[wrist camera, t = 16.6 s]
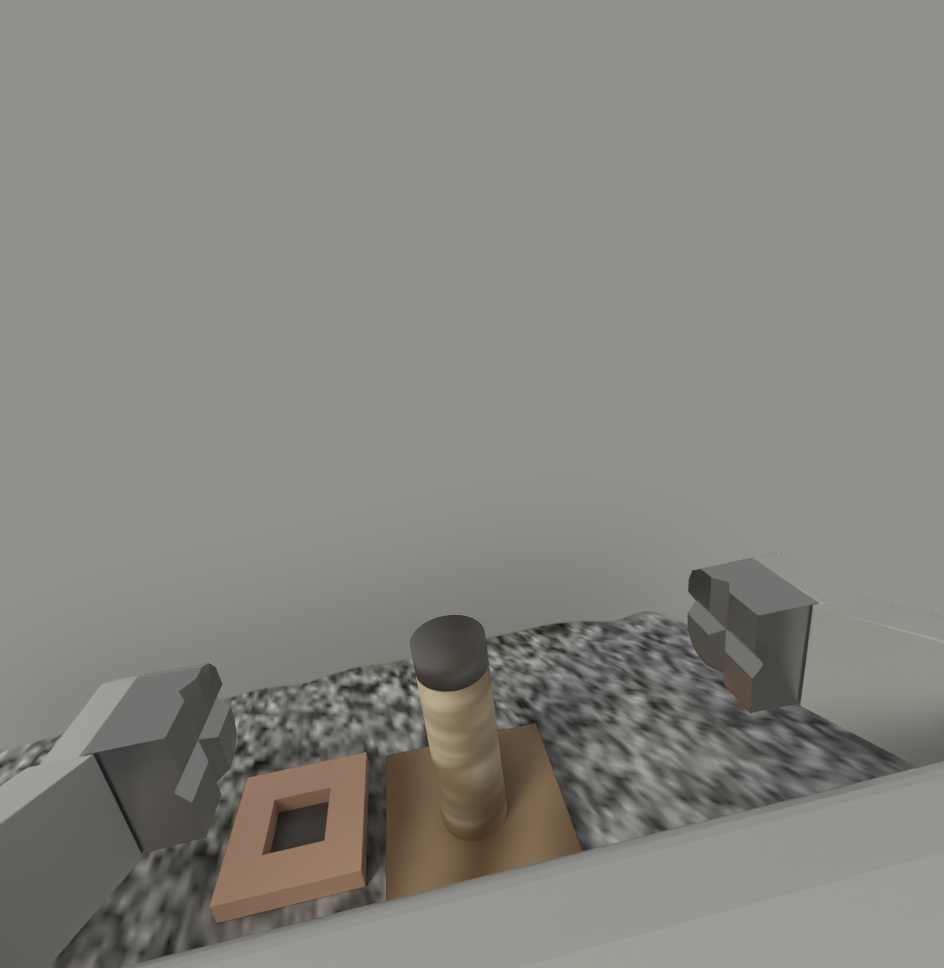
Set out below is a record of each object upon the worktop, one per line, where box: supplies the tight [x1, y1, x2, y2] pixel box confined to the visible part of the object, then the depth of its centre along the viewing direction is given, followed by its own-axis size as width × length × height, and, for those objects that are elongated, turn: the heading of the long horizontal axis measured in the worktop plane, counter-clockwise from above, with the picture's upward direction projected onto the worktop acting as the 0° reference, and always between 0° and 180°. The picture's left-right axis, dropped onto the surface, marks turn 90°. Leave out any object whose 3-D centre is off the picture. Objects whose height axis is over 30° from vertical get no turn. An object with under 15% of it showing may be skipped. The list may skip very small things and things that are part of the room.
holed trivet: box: [209, 752, 370, 923], centre depth 35 cm, size 9×9×2 cm
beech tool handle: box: [410, 615, 507, 842], centre depth 32 cm, size 4×4×14 cm
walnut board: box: [386, 723, 582, 901], centre depth 35 cm, size 12×12×1 cm
